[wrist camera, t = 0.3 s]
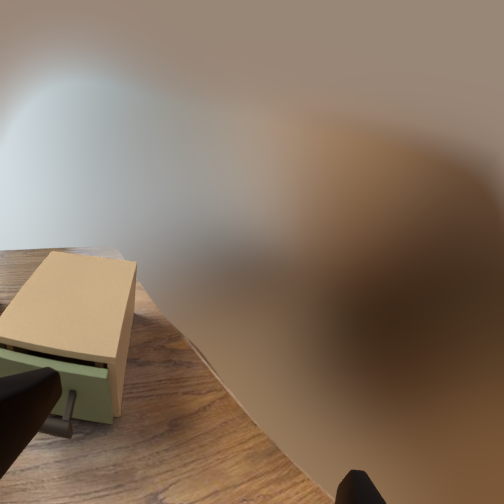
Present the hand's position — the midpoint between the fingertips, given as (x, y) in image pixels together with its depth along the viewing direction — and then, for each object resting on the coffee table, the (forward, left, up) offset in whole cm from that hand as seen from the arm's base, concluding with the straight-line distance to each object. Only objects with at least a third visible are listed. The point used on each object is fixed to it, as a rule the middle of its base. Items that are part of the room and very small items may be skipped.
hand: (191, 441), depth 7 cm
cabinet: (+18, +20, -18) cm, 33 cm away
